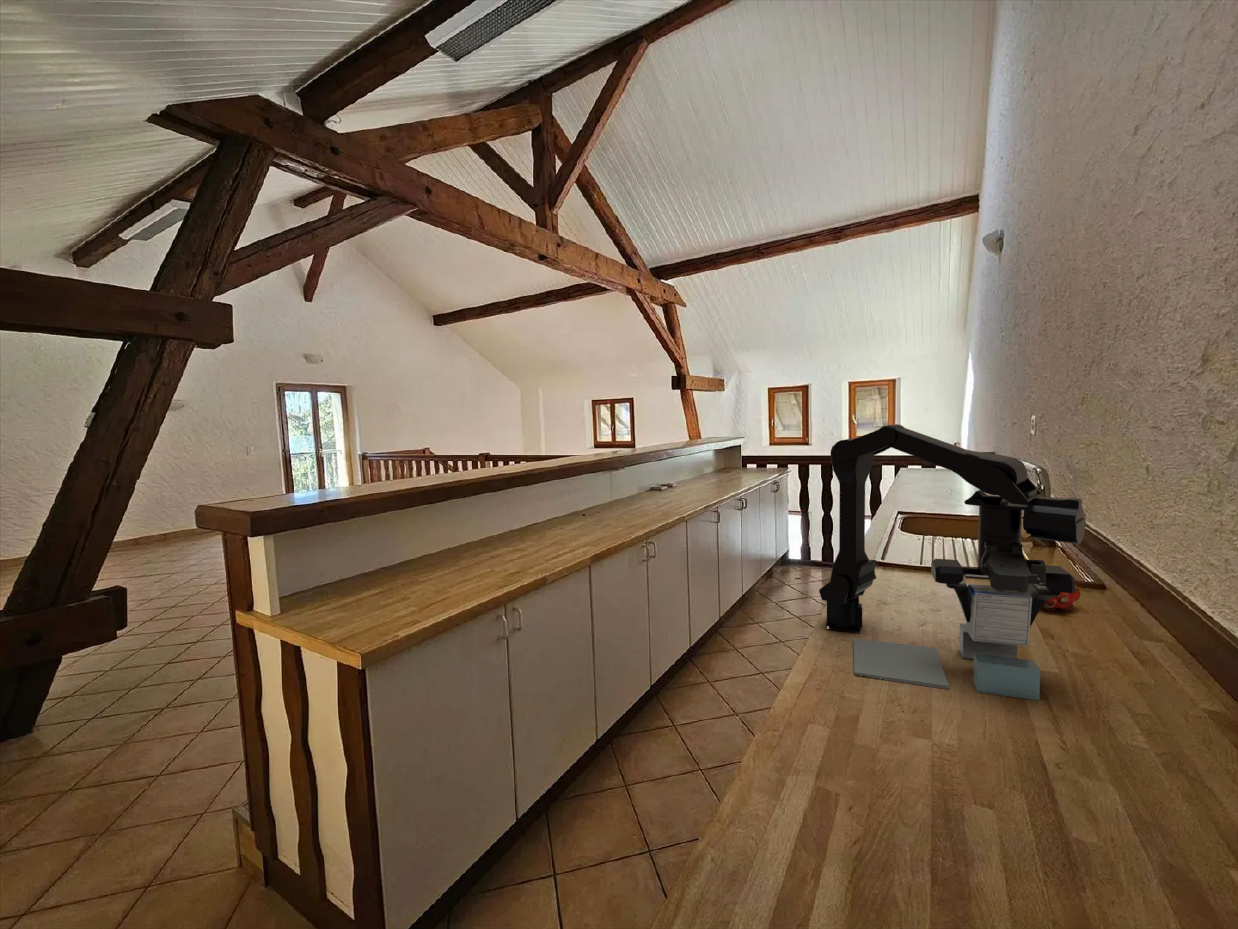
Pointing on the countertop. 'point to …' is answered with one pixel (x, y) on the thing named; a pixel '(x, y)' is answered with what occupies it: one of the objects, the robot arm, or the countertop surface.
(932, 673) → the rubber mat
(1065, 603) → the dragon fruit
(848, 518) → the robot arm
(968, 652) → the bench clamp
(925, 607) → the countertop surface
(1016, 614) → the medicine box
